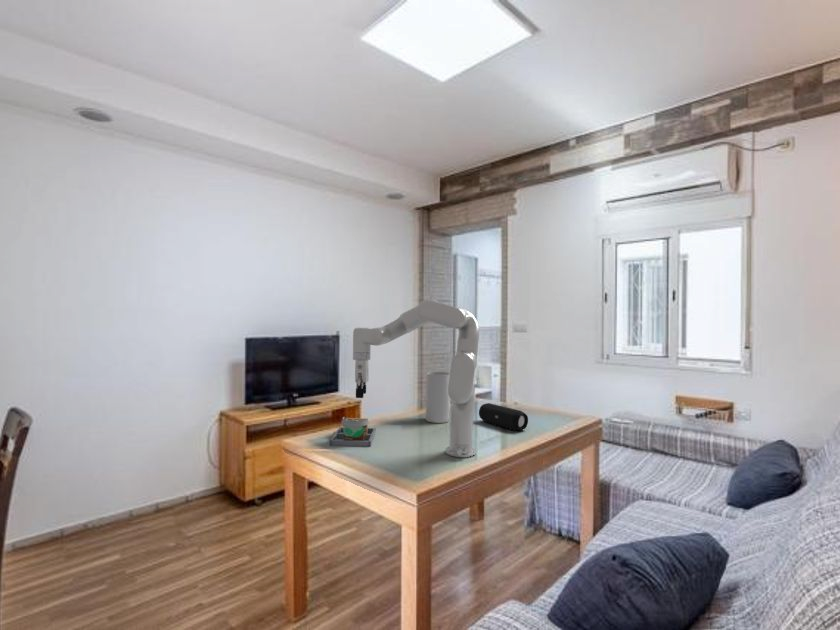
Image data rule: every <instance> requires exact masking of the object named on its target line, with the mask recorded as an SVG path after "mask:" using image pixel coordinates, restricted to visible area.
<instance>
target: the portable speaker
mask: <svg viewBox="0 0 840 630" xmlns="http://www.w3.org/2000/svg"><path fill="white" fill-rule="evenodd" d="M478 416H479V418H480V419H481V420H482V421H483V422H484V423H487V422H488V423H487V424H491V425H494V424H495V426H498V425H499V426H498V427H501V426H503V427H502V428H505V427H507V428H506V429H508V428H511V429H510V430H512V429H515V430H520V431H524V430H526V428H527V426H528V424H529V417H528V414H527V413H526V412H524V411H523V410H520V409H515V408H511V407H507V406H503V405H499V404H496V403H495V404H494V403H491V402H490V403H489V402H487V403H483V404H481V405H480V407H479V409H478ZM523 429H524V430H523ZM515 430H514V431H515Z"/></svg>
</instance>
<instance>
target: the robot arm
mask: <svg viewBox="0 0 840 630" xmlns="http://www.w3.org/2000/svg"><path fill="white" fill-rule="evenodd" d="M429 323H433V324H435V325H438V326H439V325H440V326H442V327H446V328H450V329H453V330H457V329H458V337H457V347H456V353H455V355H454V356H453V358H452V360H451V363H450V371H449V373H450V376H449V385H448V395H449V397H450V414H449V440H448V441H449V445H448V446H447V447H446V448H445V454H447V455H448V456H451V457H454V458H470V456H471V457H473V455H474V456H475V455H476V454H477V450H476V449H475V448H474V447H473V440H474V439H473V435H474V434H473V433H474V432H473V431H474V413H475V411H474V410H475V408H474V407H475V395H476V394H475V393H476V392H475V391H476V387H475V383H474V379H475V378H474V377H475V371H476V368H477V364H478V351H479V343H480V342H479V340H480V327H479V323H478V321H477V319H476V317H475V316H474V315H473V314H472V313H471V312H469V311H468V310H467V309H465V308H463V307H455V306H452V305H449V304H445V303H442V302H439V301H438V300H436V299H429V298H428V299H425V300H422V301H421V302H420V304H418V305H417V306H415V307H412V308H411V309H409V310H407V311H405V312H402V313H401V314H400V316H399V317H398V318H396V319H395V320H393V321H391V322H389V323H388V324H385V325H383V326H381V327H373V328H370V327H355V328H354V329H353V331H352V335H353V336H352V360H353V361H355V365H354V366H355V367H354V369H355V370H354V376H355V377H354V379H355V380H354V382H355V384H356V388H355V399H364V394H367V383H368V382H369V378H370V377H369V373H370V372H369V361H370V360H371V346H376V347H377V346H381V345H385V344H388V343H390V342H393V341H394V340H396V339H398V338H400V337H402V336H404V335H406V334H409V333H411V332H413V331H416V330H417V329H419V328H421V327H422V326H425V325H427V324H429Z"/></svg>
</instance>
